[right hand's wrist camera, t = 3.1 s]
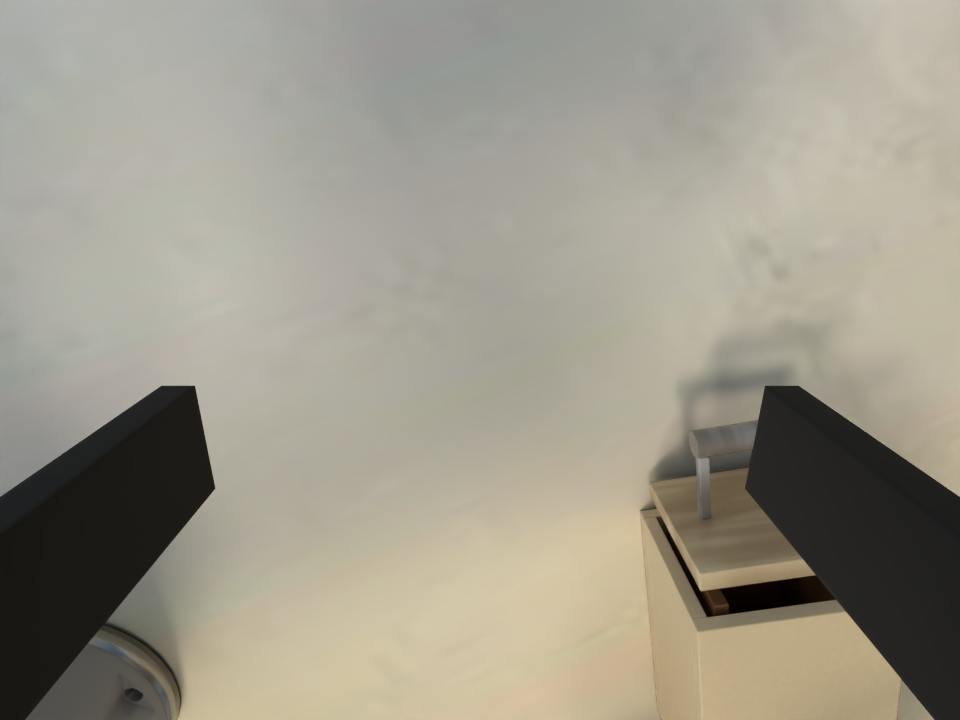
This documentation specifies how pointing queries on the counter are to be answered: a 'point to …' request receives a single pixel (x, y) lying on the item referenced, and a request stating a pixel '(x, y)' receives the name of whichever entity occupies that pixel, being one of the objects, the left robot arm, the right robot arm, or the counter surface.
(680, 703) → the cabinet
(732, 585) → the drawer
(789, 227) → the counter surface
